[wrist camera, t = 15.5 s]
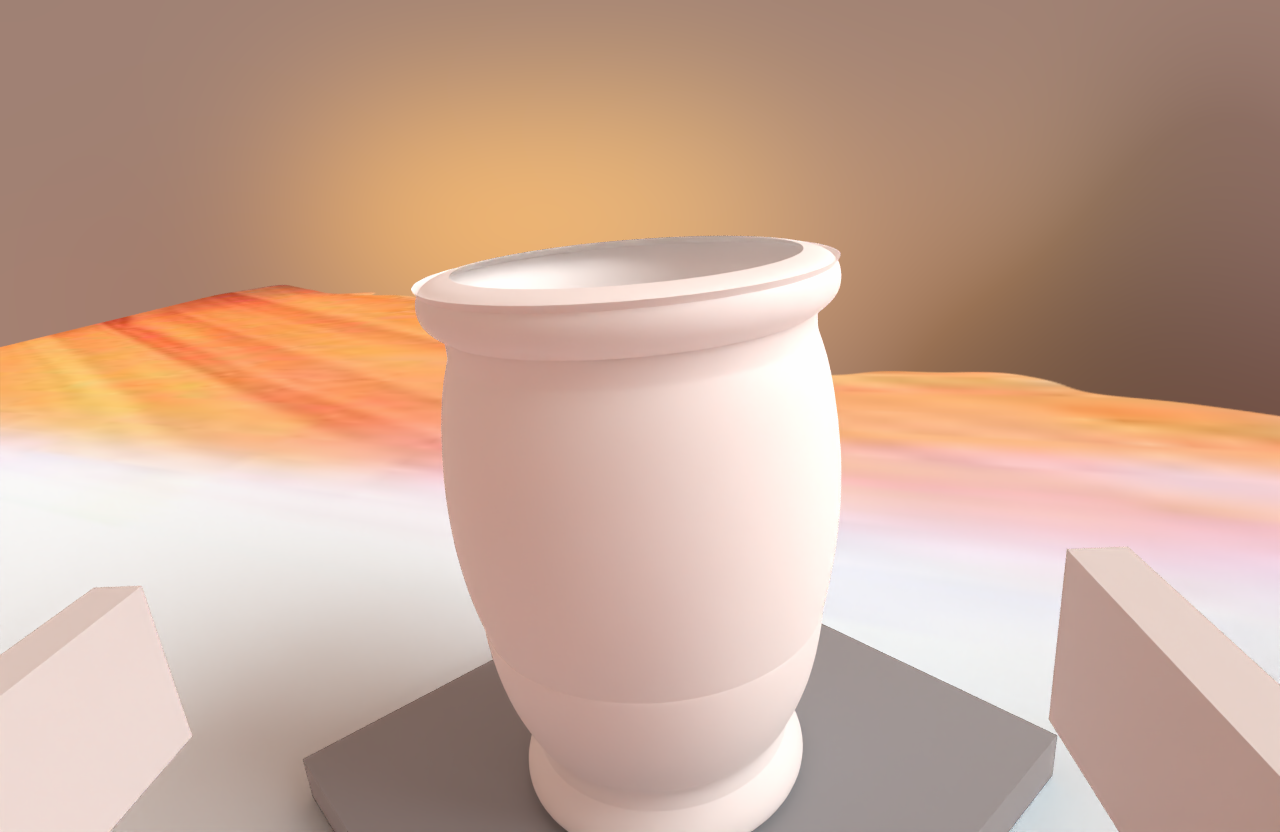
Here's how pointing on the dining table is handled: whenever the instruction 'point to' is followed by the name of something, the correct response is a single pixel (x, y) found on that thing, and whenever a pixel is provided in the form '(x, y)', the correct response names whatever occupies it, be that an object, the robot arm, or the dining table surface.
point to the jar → (646, 512)
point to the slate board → (800, 828)
